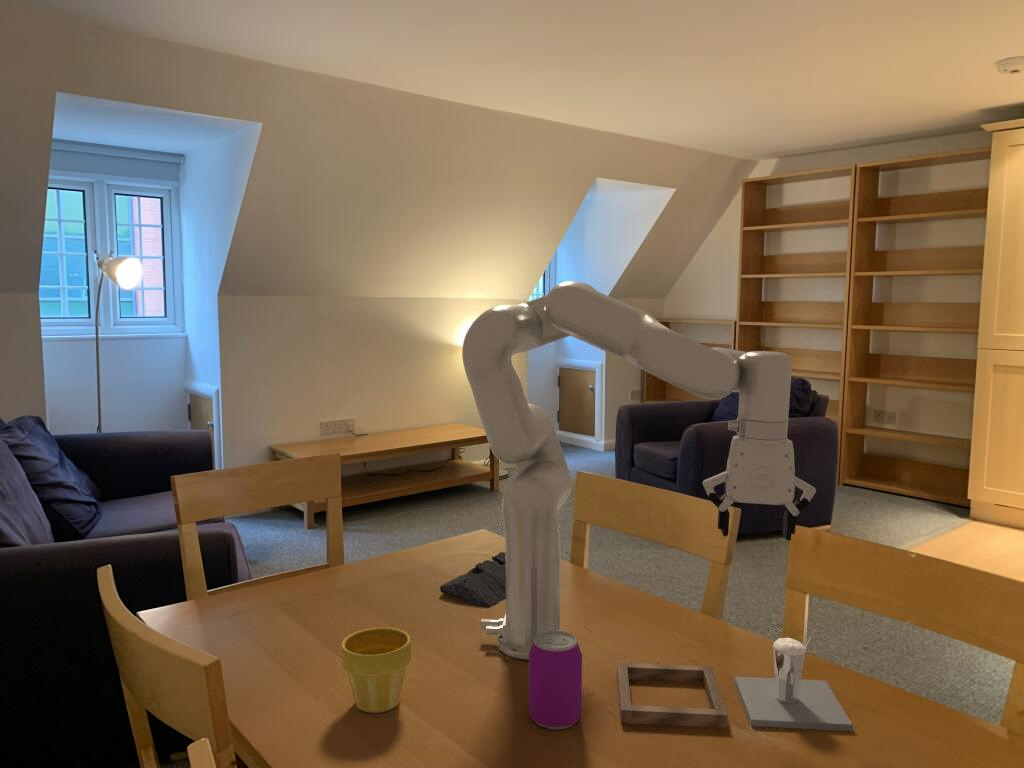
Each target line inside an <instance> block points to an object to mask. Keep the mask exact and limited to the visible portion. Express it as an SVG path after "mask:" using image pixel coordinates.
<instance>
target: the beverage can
mask: <svg viewBox="0 0 1024 768" xmlns="http://www.w3.org/2000/svg"><path fill="white" fill-rule="evenodd" d="M579 645H580V644H579V643H578V639H577V637H576V635H574V634H572V633H570V632H567V631H564V630H561V631H556V630H554V631H545V632H541V633H539V634H537V635H536V636H535V638H534V642H533V644H532V647H531V650H530V652H529V660H528V713H529V717H530V718H531V719H532V721H533V722H535V723H536V724H537V725H538V726H540V727H542V728H545V729H548V730H564V729H568V728H570V727H573V725H574V724H576V723H577V722H578V721H579V720H580V719H581V716H582V715H581V714H582V711H583V710H582V709H583V708H582V704H583V702H582V697H583V690H582V688H583V684H582V683H583V681H582V680H583V653H582V651H581V648H580V646H579Z"/></svg>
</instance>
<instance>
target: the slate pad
mask: <svg viewBox="0 0 1024 768" xmlns="http://www.w3.org/2000/svg"><path fill="white" fill-rule="evenodd" d="M734 684H735V688H736V690H737V693H738V696H739V698H740V700H741V704H742V706H743V708H744V712H745V715H746V717H747V720H748V722H749V724H750V727H758V728H759V727H760V728H761V727H762V728H778V729H779V728H780V729H782V728H783V729H784V728H785V729H798V730H800V729H801V730H817V731H819V730H820V731H821V730H822V731H840V732H841V731H842V732H853V726H854V725H853V722H852V721H851V719H850V718H849V716H848V715H847V713H846V711H845V709H844V708H843V706H842V705H841V704H840V701H839V700H838V699H837V697H836V695H835V693H834V691H833V690H832V688H831V687H830V685H829V684H828V682H827V681H826V680H822V679H821V680H819V679H802V678H801V684H800V692H799V699H798V702H797V703H793V704H788V703H783V702H781V701H779V700H778V699H777V698H776V692H775V677H756V676H755V677H753V676H752V677H751V676H734Z"/></svg>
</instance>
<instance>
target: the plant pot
mask: <svg viewBox="0 0 1024 768" xmlns="http://www.w3.org/2000/svg"><path fill="white" fill-rule="evenodd" d="M411 640H412V638H411V635H409V634H408V633H407V632H406V631H404V630H402V629H399V628H393V627H370V628H366V629H361V630H357V631H355V632H352V633H350V634H349V635H347V636H346V637H344V639H343V640H342V641H341V645H340V646H341V647H340V653H341V665H342V668H343V670H344V671H345V672H346V673H347V675H348V677H347V678H348V679H349V680H348V681H349V684H350V687H351V691H352V694H353V699H354V703H355V706H356V707H357V709H358V710H360V711H361V712H362V711H363V712H365V713H369V714H370V713H372V714H373V713H374V714H378V713H384V712H388V711H391V710H393V709H394V708H396V707H397V706H398V705H399V704H400V702H401V697H402V691H403V685H404V681H405V674H406V669H407V666H409V664H410V662H411V660H412V641H411Z"/></svg>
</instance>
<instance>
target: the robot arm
mask: <svg viewBox="0 0 1024 768" xmlns="http://www.w3.org/2000/svg"><path fill="white" fill-rule="evenodd" d="M568 337H573V338H575V339H577V340H579V341H582V342H584V343H586V344H588V345H590V346H592V347H593V346H594V347H595V348H597V349H600V350H601V351H604V352H606V353H609V354H611V355H613V356H615V357H617V358H619V359H621V360H623V361H625V362H627V363H628V364H630V365H632V366H634V367H636V368H638V369H641V370H643V371H644V372H646V373H648V374H650V375H652V376H654V377H655V378H658V379H660V380H662V381H664V382H666V383H668V384H670V385H673V386H675V387H676V388H679V389H682V390H683V391H686V392H688V393H690V394H693V395H695V396H697V397H699V398H702V399H705V400H706V399H707V400H720V399H723V398H726V397H728V396H729V395H730V394H731V393H738V394H739V395H738V396H739V398H738V399H739V400H738V414H737V418H736V419H735V420H733V421H730V420H729V421H728V422H727V424H728V425H727V430H728V431H733V432H734V431H735V432H736V435H733V436H732V439H731V442H730V446H729V451H728V457H727V462H726V468H725V469H726V470H725V471H723V472H720V473H718V474H716V475H713V476H711V477H709V478H706V479H704V480H703V481H702V486H703V488H704V490H705V492H706V494H707V497H708V500H710V502H712V504H713V505H715V507H716V508H717V509H718V515H717V529H718V530H720V532H721V534H722V537H727V536H729V531H730V530H729V529H730V511H729V508H730V507H731V505H733V503H734V502H735V503H741V504H742V503H743V504H759V505H772V506H773V505H774V506H785V509H786V510H784V512H783V520H782V535H783V537H784V539H785V540H786V541H792V535H795V534H796V523H797V516H798V515H799V514H800V513H801V512H802V511H803V510H804V509H805V508H807V507H808V506H809V504H810V503H811V502H810V501H812V499H813V498H814V496H815V494H816V492H817V489H816V488H815V487H814V486H813V485H811V484H809V483H808V482H806V481H804V480H802V479H801V478H799V477H798V476H796V475H795V474H796V473H795V472H796V469H795V468H796V467H795V452H794V444H793V440H790V439H788V432H789V430H788V427H789V415H790V398H791V384H792V370H793V369H792V368H793V365H792V364H793V361H792V358H791V356H790V355H789V354H787V353H785V352H779V351H771V350H767V351H766V350H755V351H754V350H753V351H749V352H748V351H744V350H743V351H742V350H736V349H732V348H725V347H720V346H719V347H717V346H716V347H710V346H707V345H705V344H702V343H700V342H698V341H695V340H693V339H691V338H688V337H687V336H685V335H682V334H680V333H679V332H676V331H674V330H672V329H670V328H669V327H667V326H666V325H664V324H662V323H661V322H659V321H658V320H657V319H656V318H655V317H654V316H652V315H651V314H650V313H648V312H646V311H644V310H643V309H642V310H641V309H639V308H638V307H635V306H632V305H630V304H628V303H625V302H623V301H620V300H619V299H615V298H614V297H611V296H609V295H606V294H605V293H602V292H600V291H599V290H598V291H597V289H596V288H595V287H594V286H592V285H590V284H588V283H585V282H582V281H569V280H568V281H563V282H561V283H558V284H556V285H554V287H552V288H551V290H550V291H549V292H548V294H546V295H545V294H544V295H542V296H540V297H537V298H534V299H531V300H528V301H525V302H522V303H519V304H502V305H501V304H500V305H496V306H494V307H493V306H492V307H491V308H489V309H487V310H485V311H484V312H482V313H481V314H480V315H479V316H478V317H476V318H475V320H474V321H473V322H472V324H471V325H470V327H469V328H468V330H467V331H466V334H465V337H464V339H463V343H462V349H461V350H462V352H461V353H462V354H461V355H462V362H463V368H464V371H465V374H466V375H465V376H466V377H467V381H468V383H469V386H470V389H471V392H472V394H473V398H474V401H475V405H476V408H477V411H478V414H479V417H480V420H481V423H482V427H483V430H484V432H485V433H484V434H485V436H486V438H487V439H486V440H487V442H488V446H489V448H490V451H491V452H492V454H493V456H494V457H496V459H497V460H499V461H500V462H502V463H504V464H509V465H514V466H515V468H516V473H515V474H514V475H513V476H512V477H511V478H510V479H509V480H508V482H507V484H506V485H505V487H504V490H503V493H502V498H501V511H502V512H501V513H502V520H503V529H504V539H505V540H504V542H505V545H504V546H505V549H504V550H505V551H504V553H505V560H506V599H505V614H504V617H499V618H498V619H492V618H481V620H480V621H481V622H480V630H482V631H485V635H486V636H487V635H489V636H490V635H491V636H493V635H497V637H496V646H497V649H499V650H500V652H502V653H503V654H505V655H506V656H509V657H511V658H515V659H519V660H527V661H529V652H530V650H531V647H532V644H533V642H534V638H535V636H536V635H537V634H539V633H541V632H545V631H554V630H556V631H562V630H561V629H560V623H561V621H560V620H561V619H560V618H561V617H560V615H561V613H560V611H561V608H560V606H561V605H560V604H561V541H560V528H559V523H558V522H559V521H558V519H559V516H558V514H559V513H558V512H559V510H560V508H562V507H563V505H564V504H565V503H566V502H567V500H568V499H569V497H570V494H571V491H572V479H571V472H570V470H569V466H568V464H567V460H566V458H565V454H564V452H563V448H562V446H561V444H560V440H559V437H558V434H557V431H556V429H555V426H554V423H553V421H552V419H551V418H550V416H549V414H548V413H547V412H546V411H545V410H544V409H542V407H540V406H539V405H536V404H533V403H529V402H528V401H527V398H526V395H525V392H524V389H523V384H522V382H521V379H520V377H519V374H518V373H517V371H516V370H515V368H514V366H513V363H512V361H513V360H512V357H513V355H515V354H519V353H525V352H528V351H531V350H534V349H536V348H540V347H542V346H546V345H548V344H552V343H554V342H557V341H560V340H563V339H565V338H568ZM721 484H724V490H725V493H724V494H723V495H722V496H721V497H720V496H719V495H718V494H717V493H716V492H715V489H714V488H715V487H716V486H718V485H721ZM795 488H798V489H800V490H801V491H802V492H803V493H802V494H801V496H800V497H799V498H797V499H796V500H795V501H794V498H795V490H796V489H795Z"/></svg>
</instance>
